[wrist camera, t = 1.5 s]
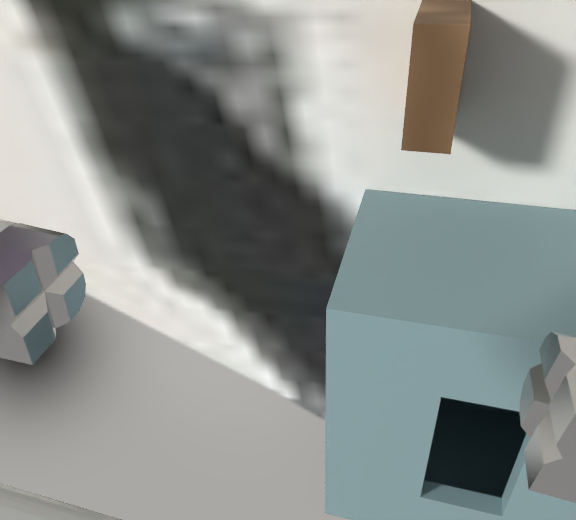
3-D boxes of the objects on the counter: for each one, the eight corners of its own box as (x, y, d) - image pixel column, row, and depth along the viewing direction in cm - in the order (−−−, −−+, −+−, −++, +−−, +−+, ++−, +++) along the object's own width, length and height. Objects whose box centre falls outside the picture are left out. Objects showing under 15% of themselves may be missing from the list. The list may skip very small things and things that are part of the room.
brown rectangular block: (470, -1, 22) (470, 24, 19) (453, 114, 25) (450, 154, 22) (422, -1, 23) (413, 23, 19) (411, 111, 26) (401, 149, 22)
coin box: (802, 232, 24) (958, 408, 16) (665, 441, 33) (722, 613, 26) (365, 189, 29) (326, 308, 21) (354, 382, 38) (325, 513, 31)
